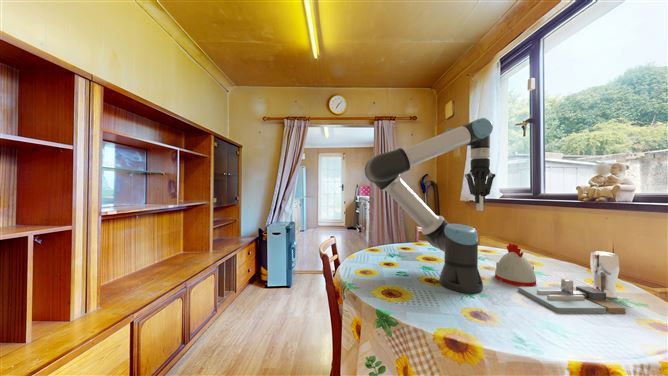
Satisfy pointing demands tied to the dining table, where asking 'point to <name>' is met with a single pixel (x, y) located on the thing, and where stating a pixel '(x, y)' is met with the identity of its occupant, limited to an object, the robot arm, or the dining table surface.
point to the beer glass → (605, 272)
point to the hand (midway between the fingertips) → (479, 210)
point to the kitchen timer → (515, 268)
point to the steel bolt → (570, 289)
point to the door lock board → (572, 300)
